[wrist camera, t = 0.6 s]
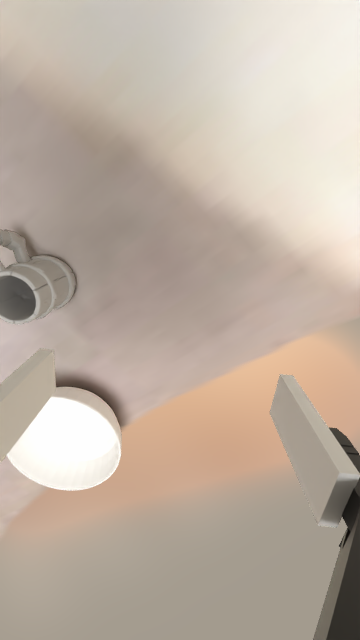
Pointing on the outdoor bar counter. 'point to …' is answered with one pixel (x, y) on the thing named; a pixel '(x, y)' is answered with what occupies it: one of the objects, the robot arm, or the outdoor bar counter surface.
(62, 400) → the bowl
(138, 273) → the outdoor bar counter surface
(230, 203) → the outdoor bar counter surface
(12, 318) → the mug
